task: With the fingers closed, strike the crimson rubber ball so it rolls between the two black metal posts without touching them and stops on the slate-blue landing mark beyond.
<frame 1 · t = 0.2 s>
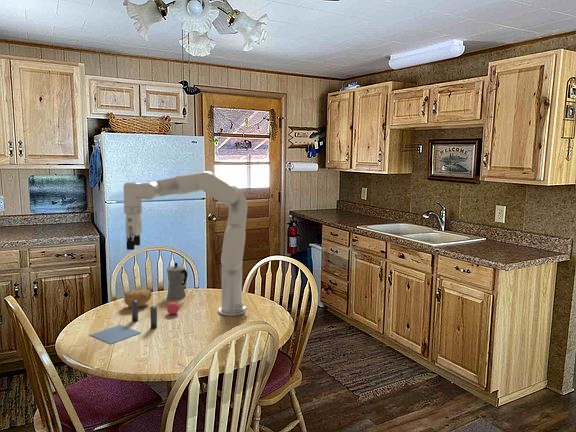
hand: (133, 247, 202), 31 cm above the table, tool pointing down, fingers open, 9 cm apart
landing mark: (115, 334, 180), on the table
post 1: (135, 320, 195), on the table
coffeepot: (177, 297, 229), on the table
potato: (138, 306, 214), on the table
post 2: (153, 327, 188), on the table
ball: (172, 308, 205), on the table
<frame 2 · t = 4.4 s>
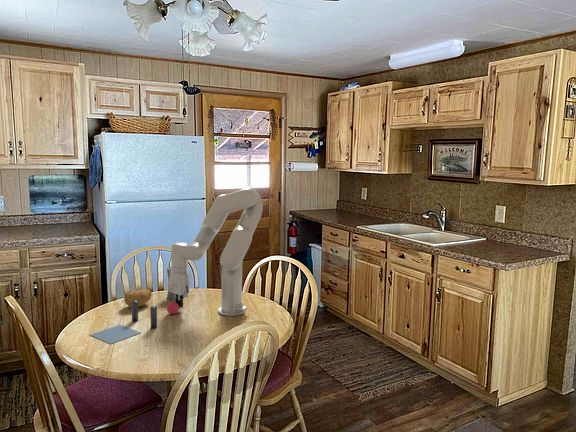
hand: (179, 307, 209), 2 cm above the table, tool pointing down, fingers closed
ball: (172, 308, 205), on the table, touching gripper
everything else where it was.
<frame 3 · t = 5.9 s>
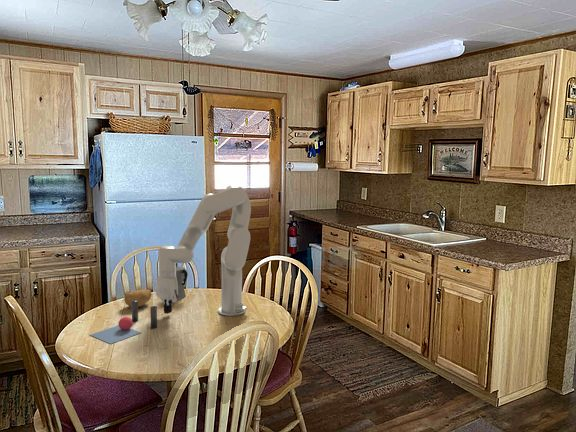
hand: (167, 312, 202), 2 cm above the table, tool pointing down, fingers closed
ball: (125, 323, 185), on the table
everything else where it was.
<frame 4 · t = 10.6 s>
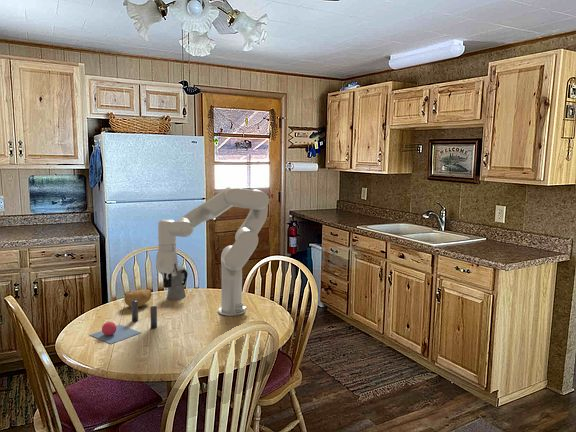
hand: (167, 287, 201), 13 cm above the table, tool pointing down, fingers closed
ball: (109, 328, 179), on the table
everything else where it was.
at the end: ball 2.5 cm from the landing mark (horizontally); ball never touched post 2; ball never touched post 1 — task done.
